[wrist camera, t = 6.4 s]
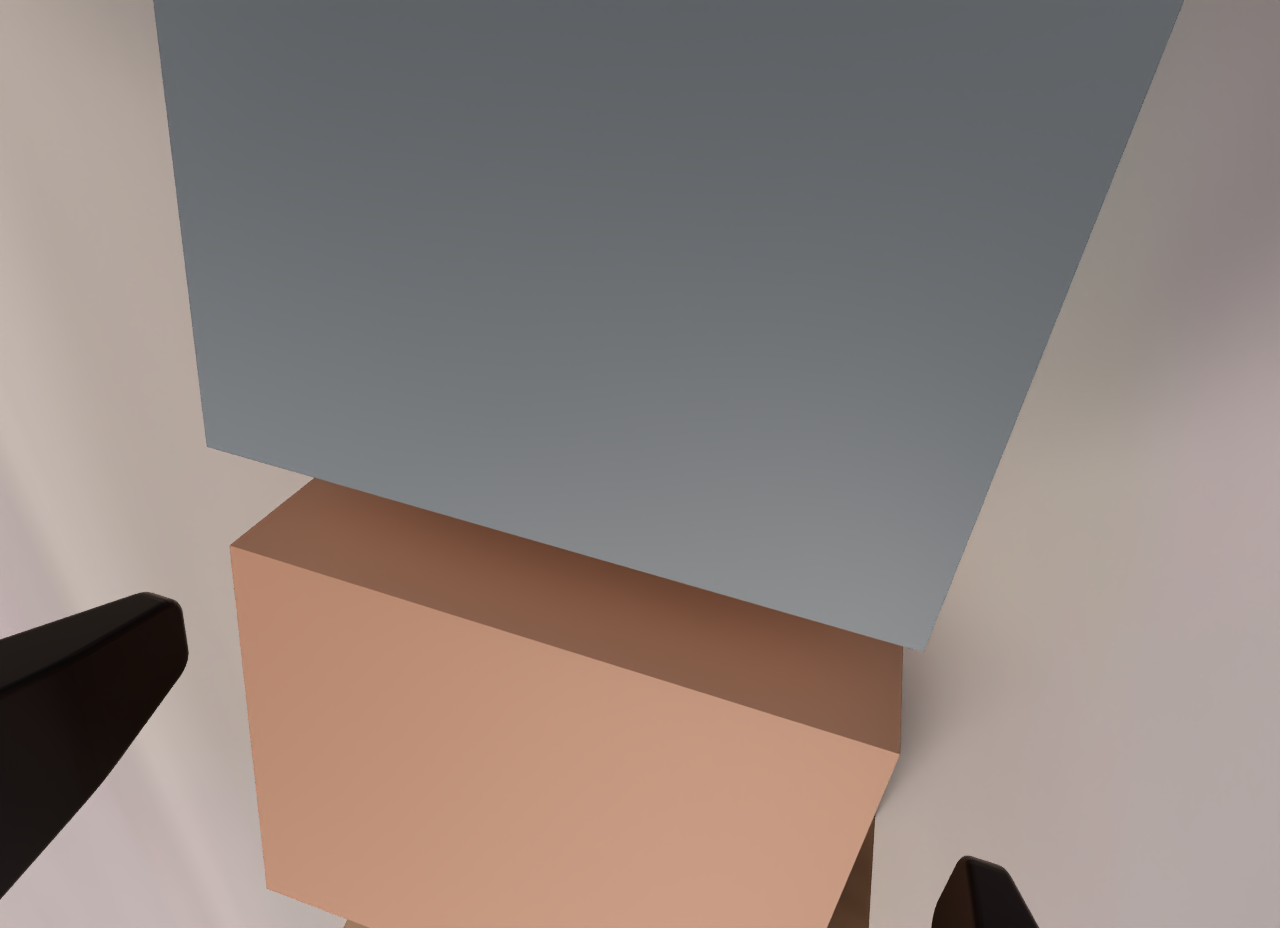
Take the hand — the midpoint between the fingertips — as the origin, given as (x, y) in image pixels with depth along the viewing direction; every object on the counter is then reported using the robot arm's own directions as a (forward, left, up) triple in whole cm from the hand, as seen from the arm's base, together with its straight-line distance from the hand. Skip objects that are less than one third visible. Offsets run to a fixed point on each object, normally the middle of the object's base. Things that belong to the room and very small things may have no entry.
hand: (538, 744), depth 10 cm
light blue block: (0, -6, -5) cm, 8 cm away
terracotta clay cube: (0, 0, -5) cm, 5 cm away
